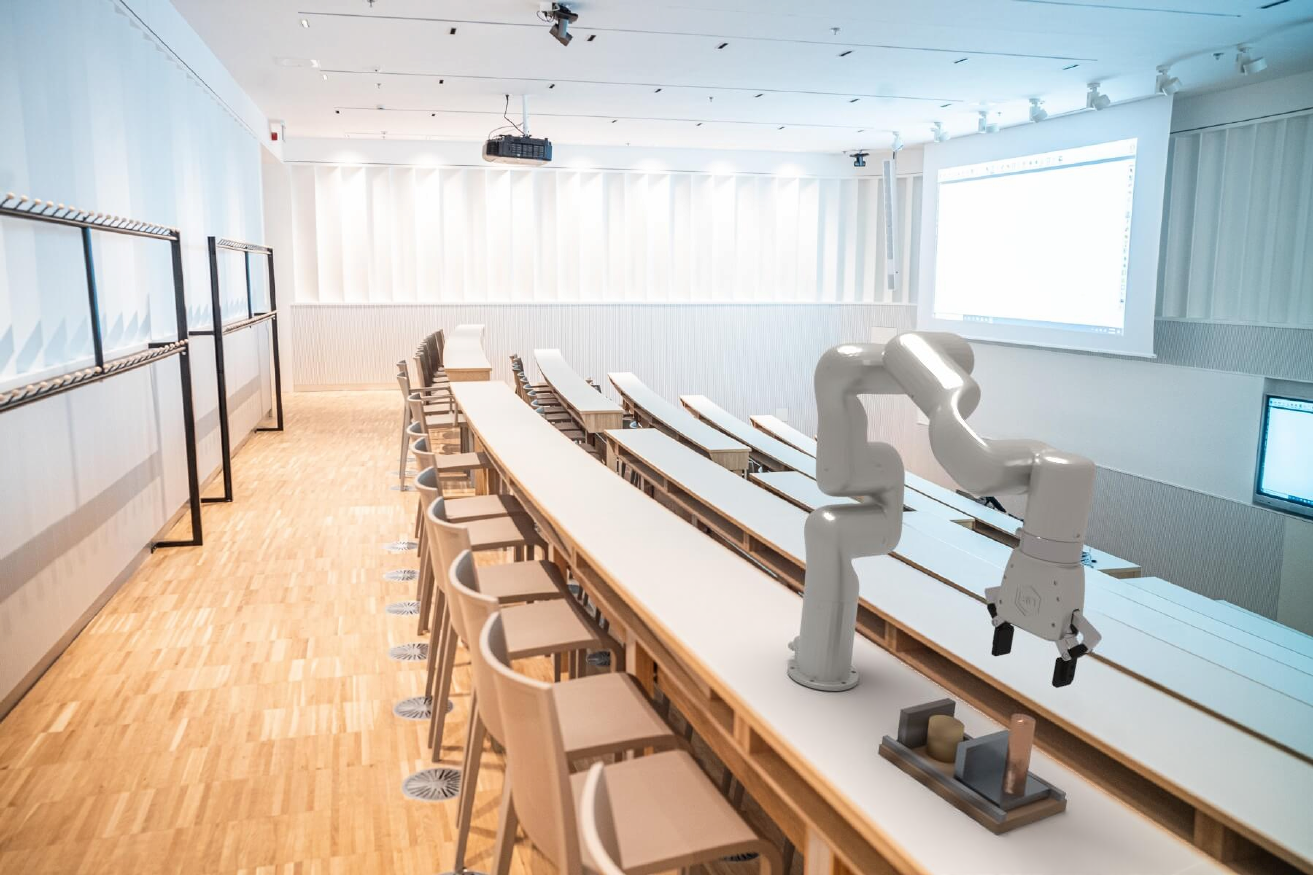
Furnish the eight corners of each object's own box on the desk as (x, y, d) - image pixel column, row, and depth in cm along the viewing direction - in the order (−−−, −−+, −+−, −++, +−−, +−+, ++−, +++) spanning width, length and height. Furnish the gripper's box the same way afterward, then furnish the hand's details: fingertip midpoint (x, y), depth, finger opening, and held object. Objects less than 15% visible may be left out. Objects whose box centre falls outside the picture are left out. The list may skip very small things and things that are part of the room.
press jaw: (952, 782, 128) (963, 706, 126) (1001, 767, 133) (1012, 693, 131) (999, 813, 121) (1010, 732, 119) (1048, 796, 126) (1060, 718, 124)
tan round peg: (918, 749, 137) (922, 718, 136) (941, 742, 139) (946, 712, 138) (943, 765, 132) (947, 733, 132) (967, 758, 135) (971, 727, 134)
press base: (878, 753, 138) (883, 707, 136) (944, 735, 145) (950, 691, 143) (996, 834, 119) (1003, 782, 118) (1065, 809, 126) (1073, 759, 125)
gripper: (978, 529, 124) (960, 647, 127) (1092, 572, 109) (1068, 703, 113) (1015, 525, 128) (997, 639, 131) (1130, 566, 113) (1106, 693, 117)
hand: (1030, 669), depth 122 cm, fingers open, 9 cm apart
